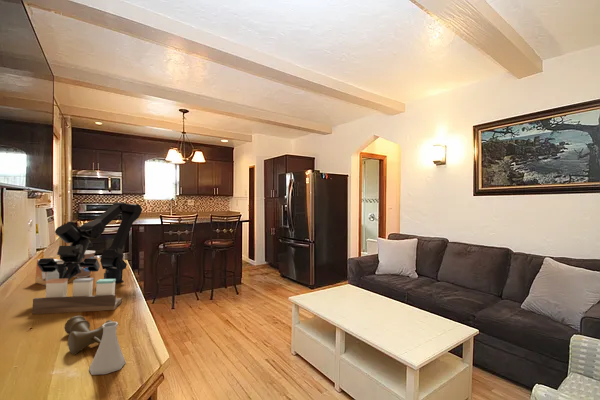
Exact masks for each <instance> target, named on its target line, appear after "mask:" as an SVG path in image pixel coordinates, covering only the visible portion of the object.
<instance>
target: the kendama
mask: <svg viewBox="0 0 600 400" xmlns="http://www.w3.org/2000/svg"><path fill="white" fill-rule="evenodd" d="M108 322H113V321H112V320H111V319H109V320H108V319H107V320H106V321H105V322H104V323H103V324H105V323H108ZM90 327H91V324H90V322H89V320H87V319H86V318H85V316H83V315H75V316H71V317H70V318H69V319H67V321H66V322H65V324H64V331H65V333H66V334H68V338H67V344H68V345H67V346H68V350H69V352H70V354H72V355H77V354H78V353H80V352H81V351H82V350H83V349H84V348H86V347H87V346H90V345H93V344H99V345H100V343H101V340H102V336H103V328H102V325H100V326H99V327H97V328H95V329H92V330H90Z"/></svg>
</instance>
